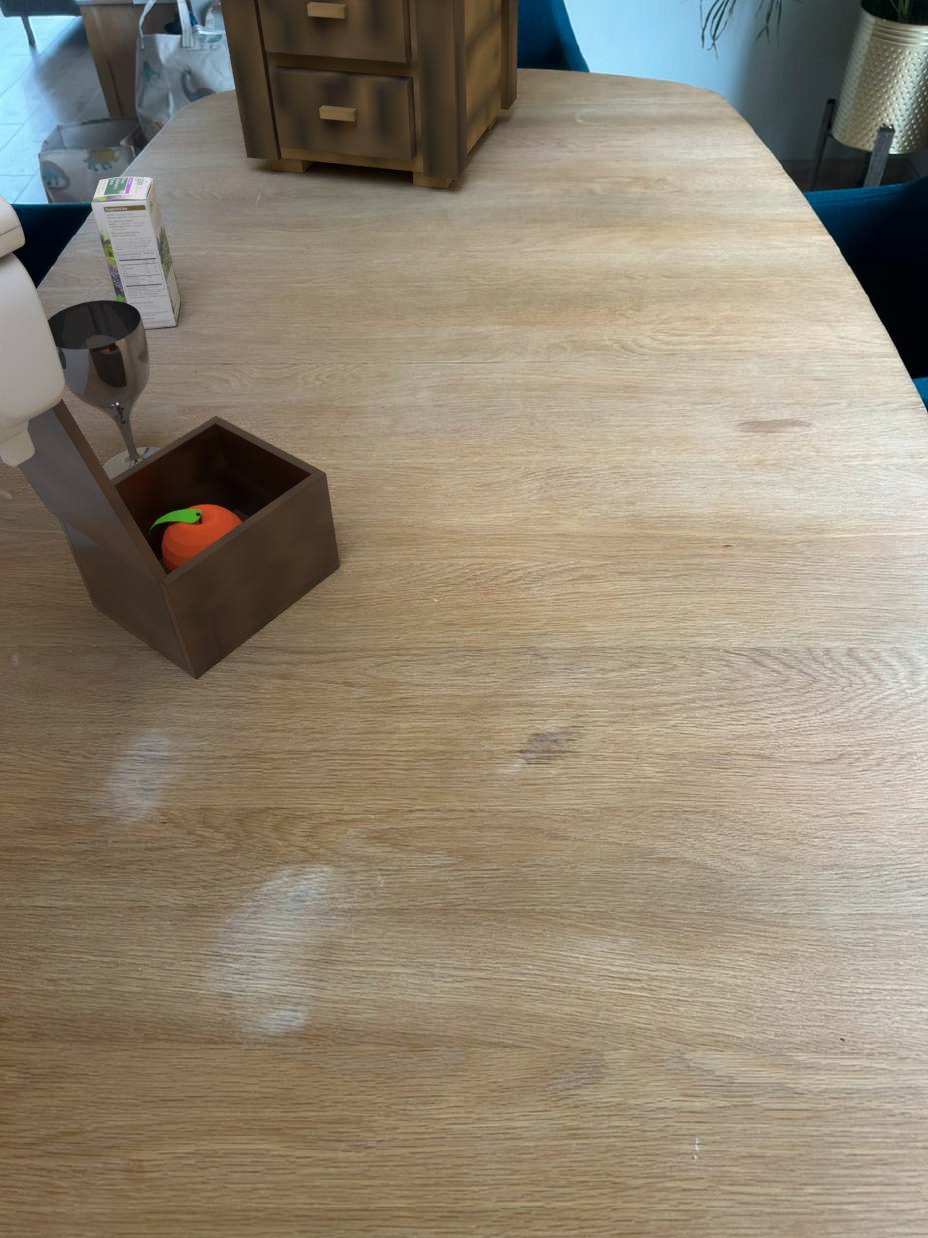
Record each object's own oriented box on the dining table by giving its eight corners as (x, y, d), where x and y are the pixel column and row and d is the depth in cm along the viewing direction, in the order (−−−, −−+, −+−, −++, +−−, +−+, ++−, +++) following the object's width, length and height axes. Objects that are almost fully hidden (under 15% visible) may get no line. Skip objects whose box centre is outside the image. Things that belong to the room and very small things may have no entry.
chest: (237, 507, 89) (215, 414, 82) (340, 566, 83) (326, 472, 76) (93, 606, 80) (55, 512, 73) (196, 679, 75) (165, 585, 68)
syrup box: (131, 305, 114) (95, 177, 104) (183, 301, 115) (152, 173, 104) (125, 331, 110) (86, 200, 100) (179, 327, 111) (146, 196, 100)
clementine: (149, 608, 79) (125, 540, 74) (173, 549, 84) (152, 482, 79) (248, 612, 78) (231, 544, 73) (267, 553, 83) (252, 485, 78)
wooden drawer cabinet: (534, 110, 154) (542, -155, 130) (469, 206, 131) (464, -96, 107) (324, 92, 161) (295, -163, 138) (227, 179, 138) (172, -108, 115)
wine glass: (141, 435, 97) (97, 291, 86) (199, 463, 93) (161, 316, 83) (76, 477, 92) (21, 331, 81) (135, 508, 89) (85, 360, 78)
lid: (-69, 317, 60) (-137, 363, 58) (56, 388, 54) (-15, 442, 52) (57, 504, 73) (5, 547, 71) (168, 577, 68) (114, 625, 66)
